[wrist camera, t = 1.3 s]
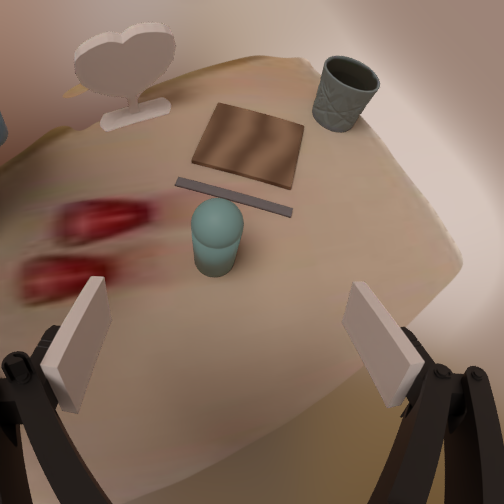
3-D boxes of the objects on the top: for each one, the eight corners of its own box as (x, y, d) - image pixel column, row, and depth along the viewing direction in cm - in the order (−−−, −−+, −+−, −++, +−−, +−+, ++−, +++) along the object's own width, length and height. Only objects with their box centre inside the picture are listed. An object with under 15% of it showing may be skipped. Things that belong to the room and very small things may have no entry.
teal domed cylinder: (189, 270, 42) (182, 229, 29) (201, 234, 44) (200, 182, 31) (228, 282, 42) (238, 245, 30) (238, 245, 44) (252, 196, 32)
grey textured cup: (364, 130, 56) (390, 89, 45) (325, 140, 54) (348, 94, 42) (336, 96, 59) (356, 54, 48) (297, 103, 56) (313, 56, 45)
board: (191, 163, 48) (191, 160, 47) (218, 105, 53) (218, 102, 52) (289, 189, 49) (291, 187, 48) (303, 128, 54) (304, 125, 53)
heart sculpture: (173, 94, 53) (169, 15, 36) (179, 111, 52) (176, 28, 35) (94, 117, 49) (70, 41, 32) (96, 135, 48) (69, 57, 31)
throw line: (175, 185, 46) (174, 184, 46) (178, 177, 47) (178, 176, 47) (290, 217, 47) (290, 216, 47) (292, 209, 48) (292, 208, 47)
